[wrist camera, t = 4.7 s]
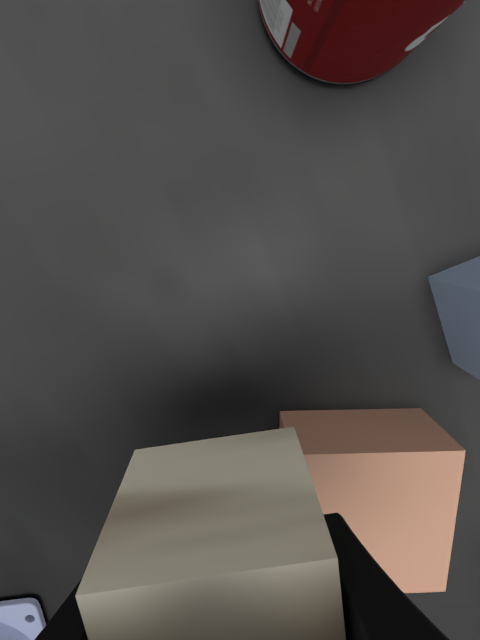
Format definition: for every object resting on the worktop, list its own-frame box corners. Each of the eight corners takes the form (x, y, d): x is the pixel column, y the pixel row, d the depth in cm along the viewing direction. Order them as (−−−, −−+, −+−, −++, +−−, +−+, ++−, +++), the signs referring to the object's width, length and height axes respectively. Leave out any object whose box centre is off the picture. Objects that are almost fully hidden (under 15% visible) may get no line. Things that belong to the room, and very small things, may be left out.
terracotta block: (405, 524, 21) (445, 591, 18) (276, 528, 21) (288, 597, 17) (418, 405, 20) (465, 450, 16) (279, 408, 20) (291, 454, 16)
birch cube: (310, 558, 12) (356, 745, 8) (164, 579, 12) (130, 778, 8) (294, 426, 11) (337, 557, 7) (135, 449, 11) (75, 595, 7)
